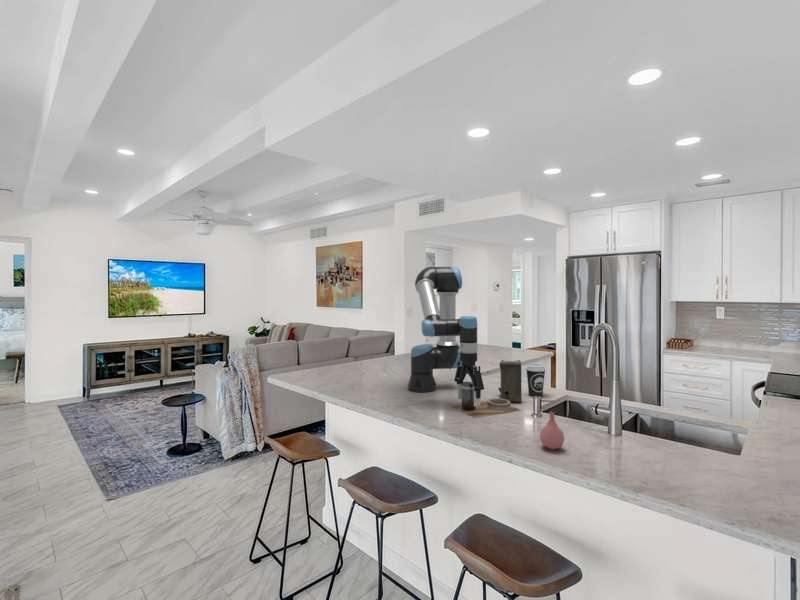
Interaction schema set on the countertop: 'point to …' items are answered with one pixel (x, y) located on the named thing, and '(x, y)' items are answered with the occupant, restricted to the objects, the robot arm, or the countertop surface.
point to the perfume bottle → (552, 434)
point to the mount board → (490, 408)
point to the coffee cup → (535, 379)
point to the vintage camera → (511, 381)
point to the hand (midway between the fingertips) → (468, 402)
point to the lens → (468, 396)
